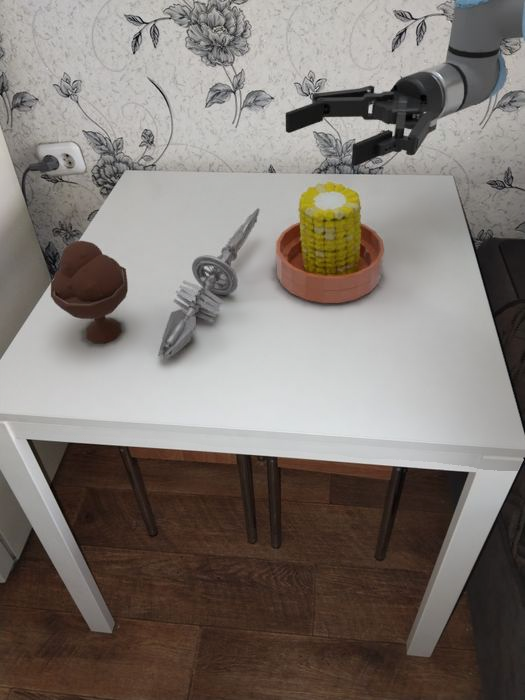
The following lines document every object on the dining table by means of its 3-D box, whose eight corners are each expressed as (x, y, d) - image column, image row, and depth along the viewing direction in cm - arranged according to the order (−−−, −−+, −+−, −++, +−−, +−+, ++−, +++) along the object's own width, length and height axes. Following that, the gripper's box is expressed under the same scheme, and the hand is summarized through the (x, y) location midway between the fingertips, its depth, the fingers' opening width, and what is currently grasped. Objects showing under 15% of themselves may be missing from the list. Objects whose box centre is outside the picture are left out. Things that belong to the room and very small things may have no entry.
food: (367, 274, 100) (324, 302, 96) (320, 233, 104) (277, 258, 100) (390, 206, 87) (342, 234, 83) (336, 163, 92) (287, 188, 88)
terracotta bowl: (398, 265, 100) (403, 237, 96) (344, 320, 90) (347, 291, 86) (314, 233, 108) (315, 206, 104) (256, 280, 98) (254, 253, 94)
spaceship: (284, 204, 100) (243, 182, 100) (192, 354, 80) (140, 326, 80) (271, 235, 106) (232, 214, 106) (182, 381, 86) (134, 356, 86)
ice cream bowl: (53, 346, 88) (21, 264, 78) (95, 302, 95) (70, 221, 85) (113, 364, 85) (88, 281, 75) (152, 316, 92) (134, 234, 82)
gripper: (488, 148, 84) (383, 198, 75) (364, 99, 99) (263, 135, 90) (501, 95, 79) (389, 141, 70) (368, 51, 94) (262, 85, 85)
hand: (318, 138), depth 80 cm, fingers open, 13 cm apart
